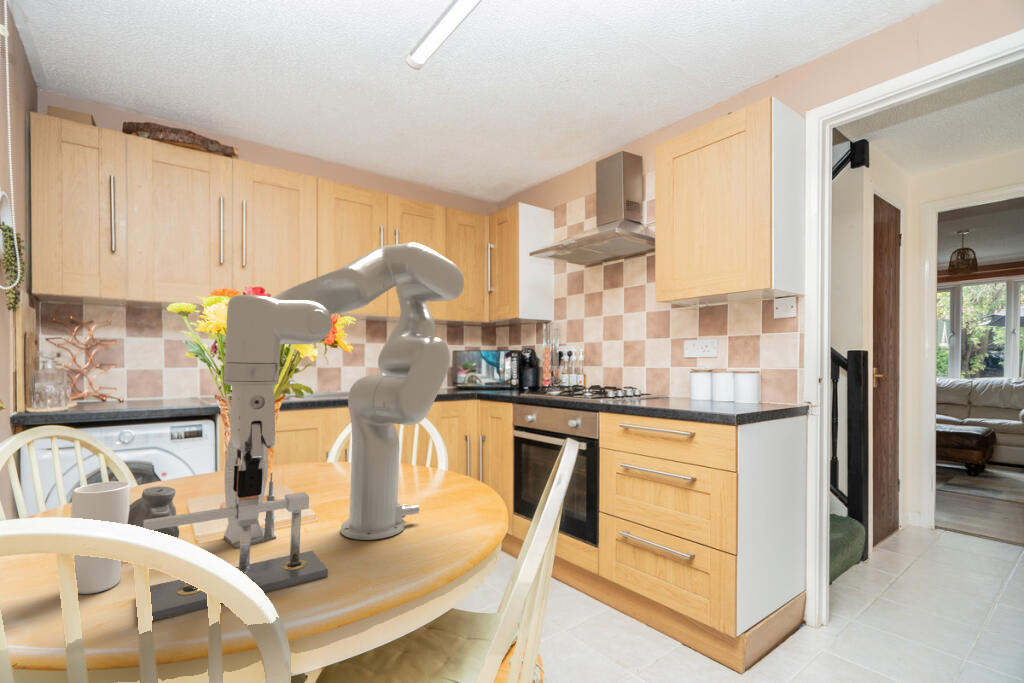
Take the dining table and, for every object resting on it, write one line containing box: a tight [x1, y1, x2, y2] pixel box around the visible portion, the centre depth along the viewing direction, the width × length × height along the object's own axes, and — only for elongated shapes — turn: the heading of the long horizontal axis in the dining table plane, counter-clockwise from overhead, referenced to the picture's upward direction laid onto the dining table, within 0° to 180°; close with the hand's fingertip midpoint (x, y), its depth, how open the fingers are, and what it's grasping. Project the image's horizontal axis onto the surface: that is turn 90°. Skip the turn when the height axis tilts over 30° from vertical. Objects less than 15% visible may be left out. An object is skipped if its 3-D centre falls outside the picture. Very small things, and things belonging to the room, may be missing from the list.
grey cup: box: [70, 480, 131, 595], centre depth 72 cm, size 7×7×15 cm
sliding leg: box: [235, 456, 259, 573], centre depth 74 cm, size 3×4×18 cm
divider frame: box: [143, 491, 310, 565], centre depth 73 cm, size 22×3×11 cm, turn 128°
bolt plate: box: [149, 550, 329, 622], centre depth 73 cm, size 24×9×1 cm, turn 128°
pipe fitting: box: [128, 485, 180, 539], centre depth 88 cm, size 12×8×10 cm, turn 44°
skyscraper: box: [223, 393, 277, 549], centre depth 92 cm, size 8×8×28 cm
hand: (247, 491), depth 74 cm, fingers closed on sliding leg, 3 cm apart
